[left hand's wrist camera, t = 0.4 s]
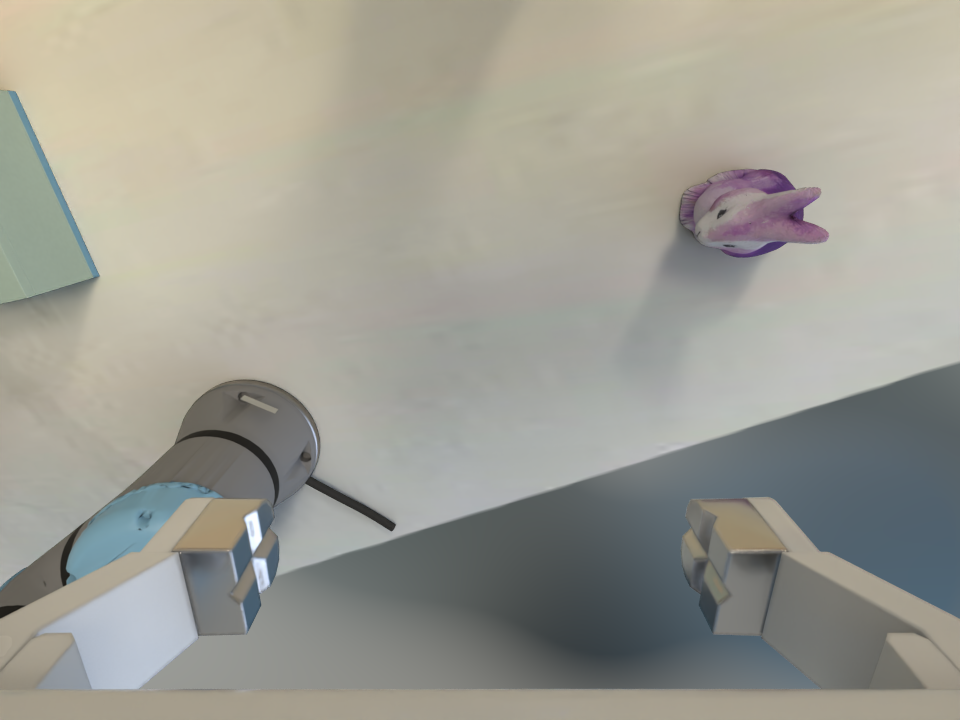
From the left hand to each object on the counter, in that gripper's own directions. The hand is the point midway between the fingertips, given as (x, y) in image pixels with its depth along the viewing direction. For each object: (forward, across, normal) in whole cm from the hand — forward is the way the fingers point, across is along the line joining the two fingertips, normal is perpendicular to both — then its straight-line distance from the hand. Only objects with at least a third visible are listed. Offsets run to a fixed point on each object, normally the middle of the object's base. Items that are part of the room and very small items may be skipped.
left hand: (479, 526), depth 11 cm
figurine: (+48, -24, -1) cm, 54 cm away
